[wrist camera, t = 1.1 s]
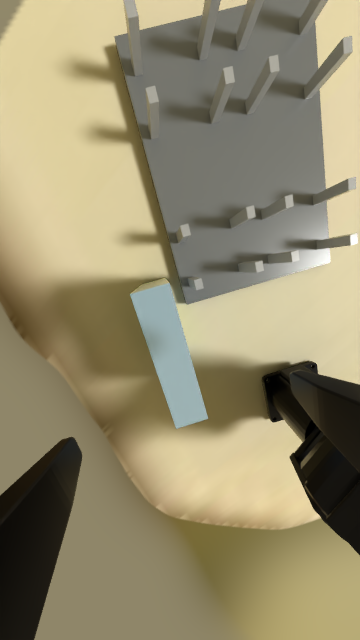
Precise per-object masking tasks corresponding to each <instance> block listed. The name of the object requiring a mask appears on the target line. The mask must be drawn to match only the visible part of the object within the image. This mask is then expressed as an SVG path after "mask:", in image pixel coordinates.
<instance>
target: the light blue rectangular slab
mask: <svg viewBox="0 0 360 640" xmlns="http://www.w3.org/2000/svg"><path fill="white" fill-rule="evenodd" d="M130 296H131V299H132V302H133V305H134V308H135V311H136V314H137V317H138V320H139V322H140V325H141V328H142V331H143V334H144V337H145V340H146V343H147V346H148V348H149V351H150V354H151V357H152V360H153V363H154V366H155V369H156V372H157V374H158V377H159V380H160V383H161V386H162V389H163V392H164V395H165V398H166V401H167V403H168V406H169V409H170V412H171V415H172V418H173V421H174V424H175V427H176V429H177V428H180V427H184V426H187V425H190V424H193V423H196V422H200V421H203V420H206V419H208V416H207V412H206V409H205V405H204V402H203V398H202V395H201V391H200V388H199V384H198V381H197V377H196V374H195V370H194V367H193V363H192V360H191V356H190V353H189V349H188V346H187V342H186V339H185V335H184V332H183V328H182V325H181V321H180V318H179V314H178V311H177V307H176V304H175V300H174V297H173V293H172V290H171V286H170V283H169V282H168V281H167V279H166V278H162V279H159V280H155V281H152V282H148V283H145V284H141V285H140V286H139V287H138V288H137V289H135V290H134V291H133V292H132V293H131V294H130Z"/></svg>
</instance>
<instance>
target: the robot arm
mask: <svg viewBox="0 0 360 640" xmlns="http://www.w3.org/2000/svg"><path fill="white" fill-rule="evenodd" d="M311 366H312V367H311ZM267 379H268V380H267ZM266 380H267V381H266ZM262 382H263V387H264V392H265V398H266V403H267V409H268V414H269V419H270V420H271V421H272V422H278V421H281V420H285V421H286V423H287V424H288V425H289V426H290V427H291V429H292V430H293V431H294V432H295V433H296V435H297V436H298V437H299V438H300V439H301V441H302V442H303V443H302V444H301V445H300V446H299V448H298V449H297V450H296V451H295V453H292V454H291V456H290V460H291V462H292V464H293V466H294V468H295V470H296V473H297V475H298V477H299V479H300V481H301V483H302V485H303V488H304V490H305V492H306V494H307V496H308V498H309V500H310V502H311V504H312V507H313V508H314V510H315V511H316V512H317V513H318V514H319V515H320V517H321V518H322V520H323V521H324V522H325V523H326V524H328V525H329V526H330V527H331V528H332V529H333V530H334V531H335V532H336V533H337V534H338V535H339V536H340V537H341V538H343V539H344V540H345V541H347V542H348V543H349V544H350V545H351V546H352V547H353V548H354V550H355V551H356V552H357V553H358V554H359V555H360V385H359V384H355V383H351V382H347V381H343V380H339V379H335V378H331V377H327V376H323V375H319V374H318V370H317V364H316V363H314V362H312V361H310V362H307V363H304V364H300V365H297V366H293V367H290V368H287V369H284V370H281V371H278V372H275V373H271V374H268V375H265V376H264V377H263V378H262ZM81 461H82V453H81V450H80V448H79V446H78V444H77V442H76V440H75V439H74V438H73V437H69V438H66V439H62V440H61V441H60V442H59V443H57V444H56V445H55V446H54V447H53V448H52V449H51V450H50V451H49V452H48V453H46V454H45V455H44V456H43V457H42V458H41V459H40V460H39V461H38V462H37V463H35V464H34V465H33V466H32V467H31V468H30V469H29V470H28V471H27V472H26V473H24V474H23V475H22V476H21V477H20V478H19V479H18V480H17V481H16V482H15V483H14V484H12V485H11V486H10V487H9V488H8V489H7V490H6V491H5V492H4V493H3V494H1V495H0V640H34V638H35V635H36V631H37V628H38V624H39V621H40V617H41V614H42V610H43V607H44V603H45V600H46V596H47V593H48V589H49V586H50V583H51V579H52V576H53V572H54V569H55V565H56V562H57V558H58V555H59V551H60V548H61V544H62V541H63V537H64V534H65V530H66V527H67V523H68V520H69V516H70V513H71V509H72V505H73V501H74V496H75V491H76V486H77V481H78V476H79V471H80V466H81Z"/></svg>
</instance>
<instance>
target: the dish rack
mask: <svg viewBox="0 0 360 640" xmlns="http://www.w3.org/2000/svg"><path fill="white" fill-rule="evenodd" d="M123 1H124V9H125V16H126V24H127V32H128V33H127V34H123V35H118V36H114V37H115V42H116V47H117V51H118V55H119V59H120V63H121V66H122V70H123V74H124V77H125V81H126V85H127V88H128V92H129V96H130V99H131V103H132V107H133V110H134V114H135V118H136V122H137V125H138V129H139V133H140V136H141V140H142V144H143V147H144V151H145V155H146V158H147V162H148V166H149V169H150V173H151V177H152V181H153V184H154V188H155V192H156V195H157V199H158V203H159V206H160V210H161V214H162V217H163V221H164V225H165V228H166V232H167V236H168V240H169V243H170V247H171V251H172V254H173V258H174V262H175V265H176V269H177V273H178V276H179V280H180V284H181V287H182V291H183V295H184V299H185V302H186V304H191V303H194V302H198V301H201V300H204V299H208V298H211V297H215V296H218V295H221V294H225V293H228V292H232V291H235V290H238V289H242V288H245V287H249V286H252V285H255V284H259V283H262V282H266V281H269V280H272V279H276V278H279V277H283V276H286V275H289V274H293V273H296V272H300V271H303V270H306V269H310V268H313V267H317V266H320V265H323V264H327V263H330V248H334V247H341V246H349V245H353V244H357V243H358V239H357V233H354V234H349V235H344V236H338V237H333V238H329V232H328V216H327V200H330V199H332V198H334V197H337V196H339V195H342V194H344V193H347V192H349V191H351V190H354V189H356V177H353V178H349V179H347V180H345V181H343V182H341V183H338V184H336V185H334V186H332V187H330V188H328V189H326V185H325V169H324V154H323V138H322V122H321V107H320V91H319V89H320V88H321V87H322V86H323V84H324V83H325V82H326V81H327V80H328V79H329V78H330V77H331V75H332V74H333V73H334V72H335V71H336V70H337V69H338V68H339V66H340V65H341V64H342V63H343V62H344V61H345V60H346V59H347V57H348V56H349V55H350V54H351V53H352V36H349V37H345V38H343V39H342V40H341V41H340V43H339V44H338V45H337V46H336V48H335V49H334V50H333V51H332V53H331V54H330V55H329V56H328V58H327V59H326V60H325V61H324V63H323V64H322V65H321V66H320V68H319V69H318V60H317V44H316V28H315V20H316V19H317V17H318V15H319V14H320V12H321V11H322V9H323V7H324V6H325V4H326V3H327V1H328V0H248V1H247V4H246V5H242V6H238V7H234V8H230V9H226V10H221V11H218V10H219V5H220V1H221V0H205V3H204V9H203V15H201V16H197V17H193V18H188V19H184V20H180V21H176V22H172V23H168V24H164V25H160V26H156V27H151V28H147V29H143V30H139V19H138V13H137V9H136V4H135V0H123Z"/></svg>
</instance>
